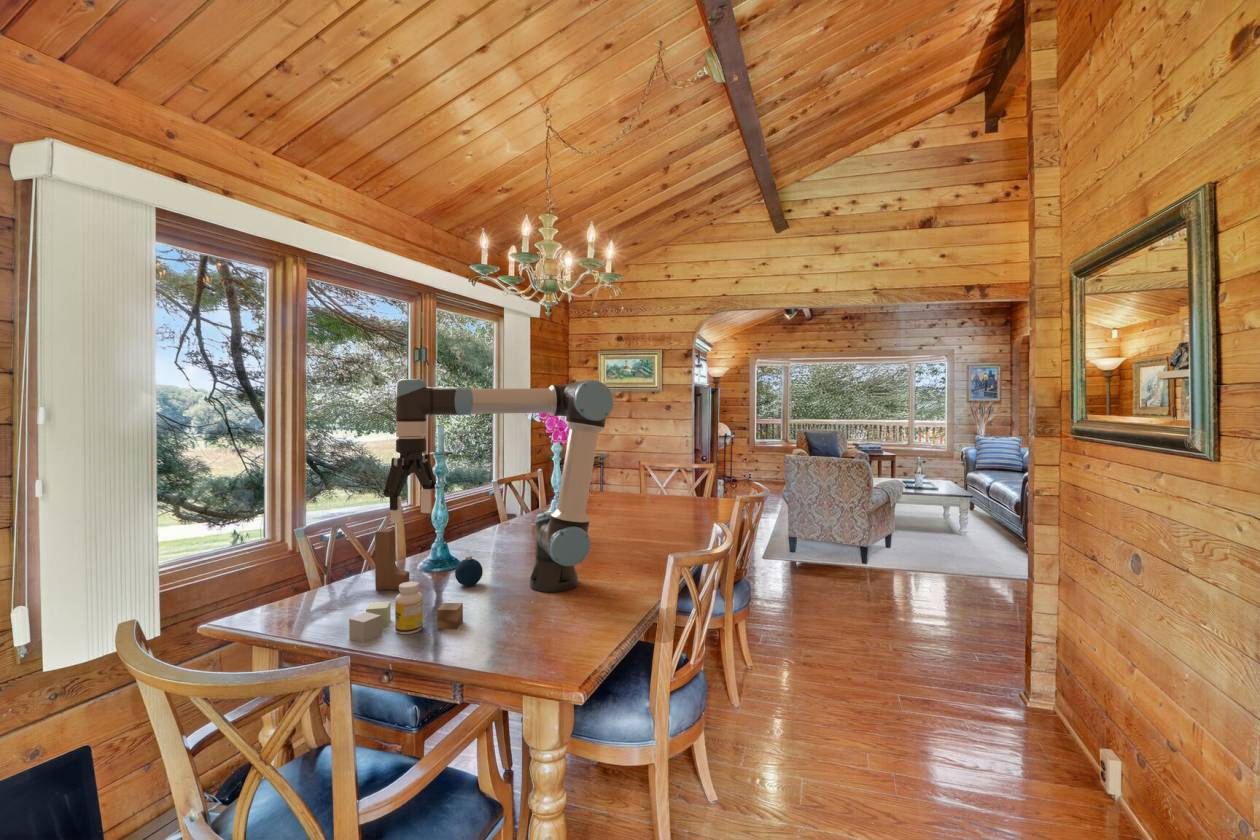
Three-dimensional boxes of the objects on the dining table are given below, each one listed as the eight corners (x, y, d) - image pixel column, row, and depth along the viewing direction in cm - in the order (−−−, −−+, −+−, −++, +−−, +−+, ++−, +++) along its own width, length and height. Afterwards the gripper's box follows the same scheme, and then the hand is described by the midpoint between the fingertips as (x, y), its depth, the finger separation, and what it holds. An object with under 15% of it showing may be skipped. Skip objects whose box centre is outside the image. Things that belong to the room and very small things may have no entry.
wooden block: (409, 585, 179) (409, 528, 178) (404, 590, 174) (404, 531, 174) (380, 585, 178) (380, 528, 178) (374, 590, 174) (374, 531, 173)
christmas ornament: (486, 586, 178) (486, 554, 178) (460, 591, 173) (459, 558, 173) (477, 579, 185) (477, 549, 184) (451, 584, 180) (451, 553, 180)
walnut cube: (462, 621, 149) (462, 603, 149) (456, 629, 144) (456, 609, 144) (443, 621, 149) (443, 602, 149) (437, 629, 144) (437, 609, 144)
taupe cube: (381, 635, 140) (381, 615, 140) (363, 643, 135) (363, 622, 135) (367, 631, 142) (366, 612, 142) (349, 639, 138) (349, 618, 138)
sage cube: (390, 620, 150) (390, 601, 150) (387, 627, 145) (387, 607, 145) (370, 621, 149) (369, 602, 149) (366, 628, 144) (365, 609, 144)
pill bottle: (400, 625, 146) (399, 580, 146) (425, 624, 147) (425, 580, 146) (391, 635, 140) (391, 588, 139) (418, 634, 140) (418, 588, 140)
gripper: (424, 435, 163) (425, 508, 164) (367, 439, 139) (368, 526, 139) (448, 435, 162) (448, 509, 162) (395, 440, 137) (395, 527, 138)
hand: (411, 517), depth 151 cm, fingers open, 13 cm apart
